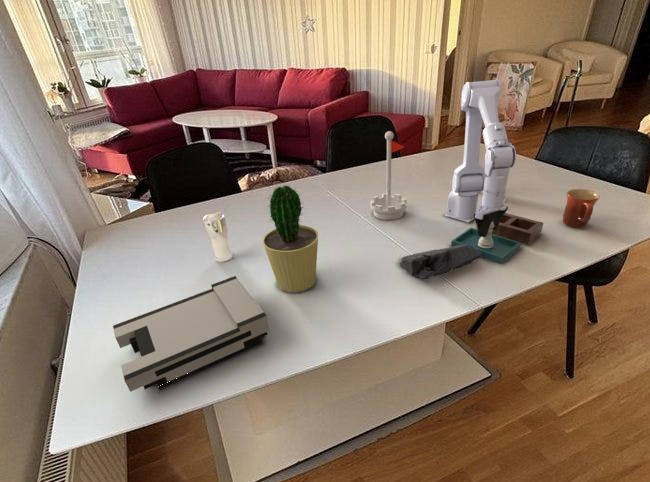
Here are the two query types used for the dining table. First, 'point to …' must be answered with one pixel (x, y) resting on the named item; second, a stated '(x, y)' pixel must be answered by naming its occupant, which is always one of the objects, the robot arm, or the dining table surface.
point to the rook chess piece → (487, 239)
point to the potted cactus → (290, 243)
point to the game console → (191, 335)
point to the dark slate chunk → (439, 260)
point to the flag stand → (389, 190)
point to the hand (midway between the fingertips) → (487, 232)
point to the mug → (579, 207)
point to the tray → (497, 253)
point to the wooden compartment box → (518, 228)
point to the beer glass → (218, 235)
